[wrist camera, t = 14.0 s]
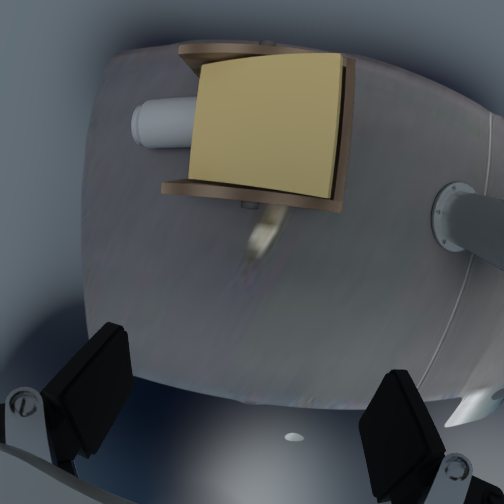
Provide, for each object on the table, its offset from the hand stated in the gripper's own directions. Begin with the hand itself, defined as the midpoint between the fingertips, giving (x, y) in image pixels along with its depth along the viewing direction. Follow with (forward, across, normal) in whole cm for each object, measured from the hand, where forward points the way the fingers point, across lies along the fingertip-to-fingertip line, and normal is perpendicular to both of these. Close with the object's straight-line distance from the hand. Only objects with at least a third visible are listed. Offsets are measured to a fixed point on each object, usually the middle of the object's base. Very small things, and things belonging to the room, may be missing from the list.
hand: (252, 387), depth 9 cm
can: (+31, +9, -13) cm, 35 cm away
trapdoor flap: (+22, +3, -12) cm, 25 cm away
